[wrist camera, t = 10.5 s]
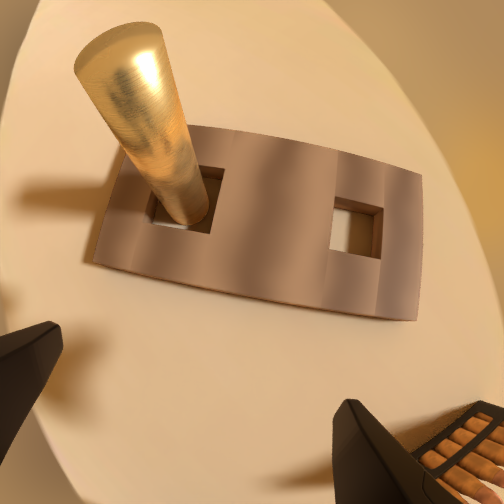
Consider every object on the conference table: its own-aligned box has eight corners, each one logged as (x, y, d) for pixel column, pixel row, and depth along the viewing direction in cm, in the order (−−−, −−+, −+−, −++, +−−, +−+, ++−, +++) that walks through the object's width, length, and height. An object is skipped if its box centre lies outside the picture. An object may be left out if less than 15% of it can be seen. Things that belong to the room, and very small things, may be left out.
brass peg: (198, 231, 22) (124, 85, 7) (161, 216, 22) (57, 78, 7) (215, 194, 23) (180, 24, 7) (179, 181, 23) (111, 21, 8)
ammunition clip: (480, 399, 19) (568, 419, 8) (481, 413, 19) (566, 436, 7) (394, 463, 18) (471, 528, 7) (398, 476, 18) (470, 540, 6)
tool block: (410, 183, 23) (421, 174, 21) (403, 321, 21) (416, 321, 19) (145, 133, 24) (139, 121, 22) (104, 265, 21) (92, 261, 19)
